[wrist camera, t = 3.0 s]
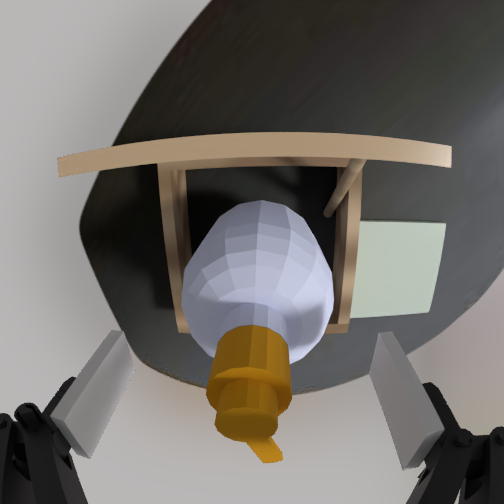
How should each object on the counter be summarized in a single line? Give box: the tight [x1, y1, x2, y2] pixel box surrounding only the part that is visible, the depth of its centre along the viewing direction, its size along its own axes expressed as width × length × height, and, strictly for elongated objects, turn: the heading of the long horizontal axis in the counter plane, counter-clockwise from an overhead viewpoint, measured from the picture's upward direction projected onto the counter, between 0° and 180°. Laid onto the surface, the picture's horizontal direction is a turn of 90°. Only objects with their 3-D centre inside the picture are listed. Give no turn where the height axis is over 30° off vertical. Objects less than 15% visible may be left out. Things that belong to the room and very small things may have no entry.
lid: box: [58, 132, 451, 177], centre depth 20 cm, size 1×19×19 cm, turn 93°
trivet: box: [350, 220, 446, 318], centre depth 33 cm, size 12×12×1 cm
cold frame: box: [157, 156, 367, 334], centre depth 27 cm, size 19×18×12 cm
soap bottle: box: [181, 200, 334, 463], centre depth 21 cm, size 10×10×24 cm
